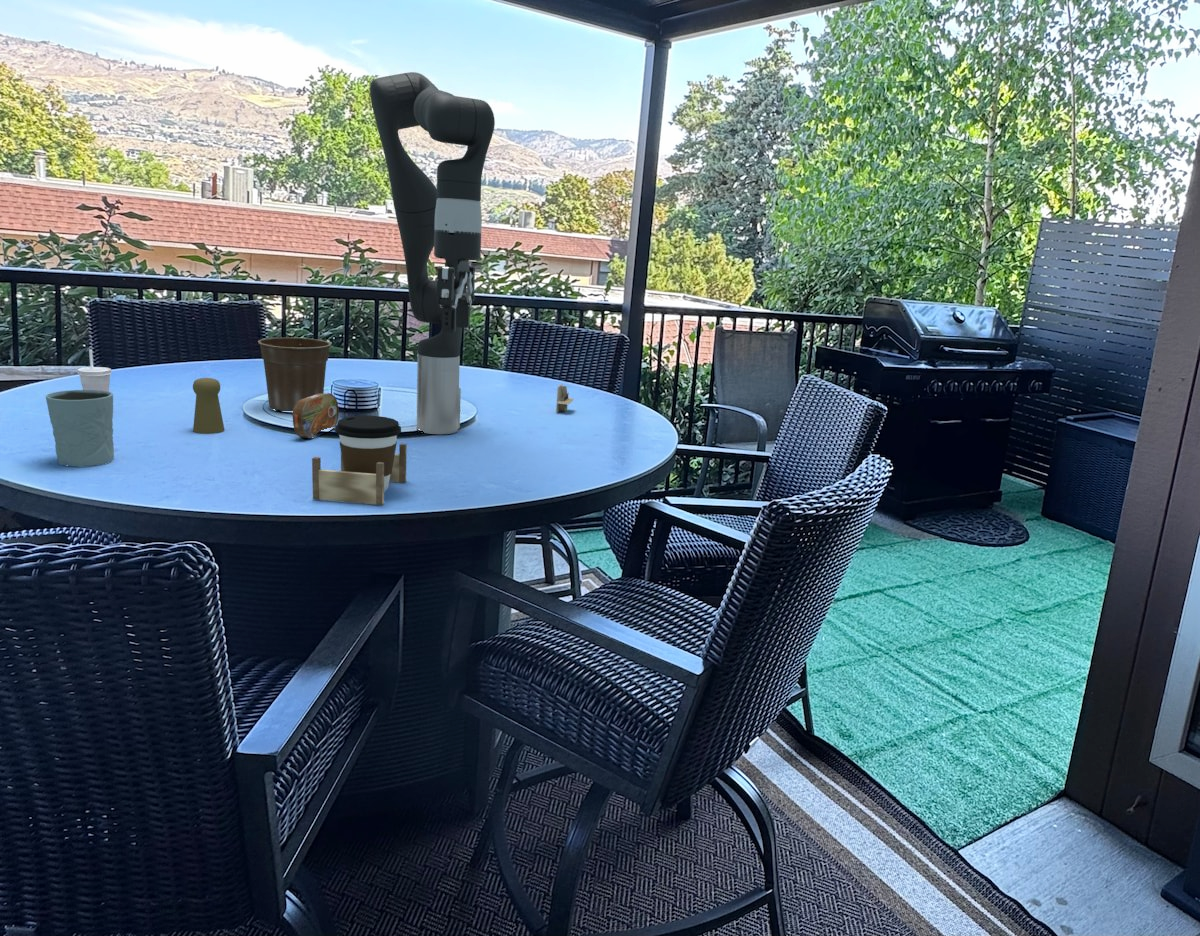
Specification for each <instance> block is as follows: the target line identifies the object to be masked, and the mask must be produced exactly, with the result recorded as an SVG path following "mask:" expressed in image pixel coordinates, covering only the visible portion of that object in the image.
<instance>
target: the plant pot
mask: <svg viewBox="0 0 1200 936" xmlns="http://www.w3.org/2000/svg"><path fill="white" fill-rule="evenodd" d="M257 343H258V345H260V346H259V347H260V352H261V359H262V360H263V365H264V366H263V367H264V374H265V382H266V383H265V384H266V389H267V390H266V391H267V399H268V408H269V407H270V408H271V409H275V410H280V411H281V412H282V411H293V409H294V406H295V404H296V403H297V402H298V401H299V400H301V399H304V398H307V397H310V396H313V395H316V394H320V393H323V394H325V391H324V390H325V379H326V370H327V369H326V368H327V362H328V360H329V353H330V348H331V346H332V343H331V342H329V341H326V340H322V339H315V338H308V337H269V338H268V337H267V338H262V339H258V341H257ZM270 408H269V409H270ZM271 409H270V410H271Z"/></svg>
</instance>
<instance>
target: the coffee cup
mask: <svg viewBox="0 0 1200 936" xmlns="http://www.w3.org/2000/svg"><path fill="white" fill-rule="evenodd" d="M334 433H336V434H337V435H338V436H339V447H340V455H341V454H342V460H343V466H344V471H347V472H359V473H371V474H376V463H378V462H383V463H384V491H385V492H387V490H388V488H389V486H390V482H389V480H390V474H391V473H392V468H393V462H394V456H395V454H396V451H397V449H396V448H397V437H398V435H400V434H402V426H400V425H399V421H398V420H396V419H394V418H391V417H387V416H377V415H355V416H352V415H351V416H348V417H343V418H340V419H338V421H337V424H336V426H335V428H334Z"/></svg>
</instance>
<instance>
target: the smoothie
mask: <svg viewBox="0 0 1200 936" xmlns="http://www.w3.org/2000/svg"><path fill="white" fill-rule="evenodd" d="M88 353H89V354H88V355H89V366H87V367H80V368H78V369H77V375H78V376H79V379H80V384H81V387H82V388H81V389H82V390H99V391H107V392H110V385H111V384H110V383H111V382H110V381H111V375H112V374H113V373H112V368H109V367H104V366H94V360H93V359H94V358H93V349H92V348H90V349H88Z"/></svg>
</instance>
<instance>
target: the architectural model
mask: <svg viewBox="0 0 1200 936" xmlns="http://www.w3.org/2000/svg"><path fill="white" fill-rule="evenodd" d="M567 388H568V387H567V385H563V383H561V384H560V385H558V386H557V388H556V390H557V393H556V405H555V407H556V410H555V414H558V413H559V412H566V411H568V405H570V404H571V403H572V402H574V398H569V392H568V389H567Z"/></svg>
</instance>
